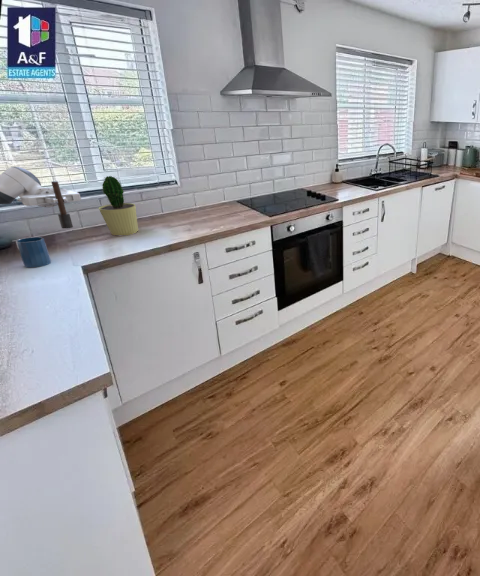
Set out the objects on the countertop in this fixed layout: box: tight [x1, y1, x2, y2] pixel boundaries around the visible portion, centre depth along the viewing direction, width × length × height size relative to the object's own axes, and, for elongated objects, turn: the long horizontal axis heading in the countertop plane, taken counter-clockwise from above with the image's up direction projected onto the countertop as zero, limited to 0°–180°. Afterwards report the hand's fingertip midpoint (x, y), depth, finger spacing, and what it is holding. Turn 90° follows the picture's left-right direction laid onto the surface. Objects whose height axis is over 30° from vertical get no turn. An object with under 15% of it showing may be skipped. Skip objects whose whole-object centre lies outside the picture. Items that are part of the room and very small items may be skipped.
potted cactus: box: [98, 175, 139, 236], centre depth 184 cm, size 15×15×30 cm
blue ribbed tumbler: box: [15, 236, 52, 268], centre depth 145 cm, size 8×8×10 cm
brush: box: [51, 180, 74, 229], centre depth 162 cm, size 4×4×20 cm
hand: (60, 200), depth 161 cm, fingers closed on brush, 2 cm apart
